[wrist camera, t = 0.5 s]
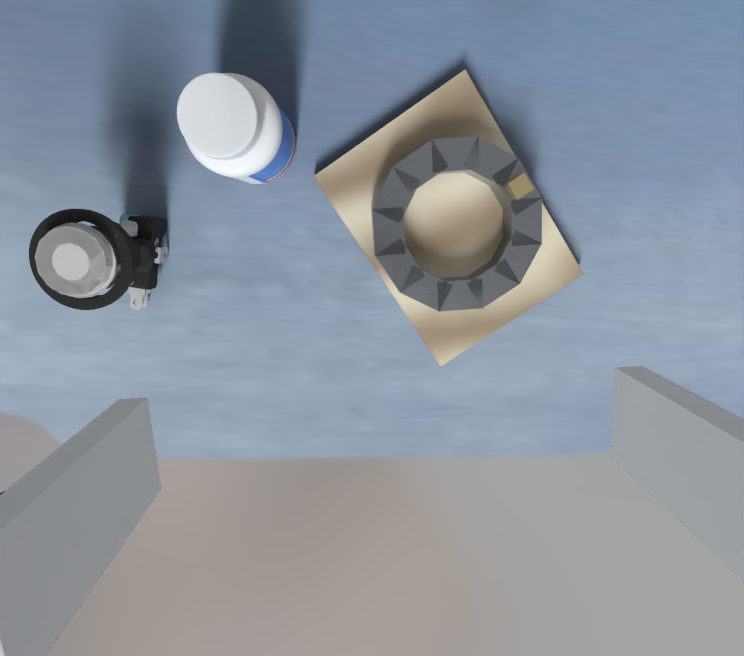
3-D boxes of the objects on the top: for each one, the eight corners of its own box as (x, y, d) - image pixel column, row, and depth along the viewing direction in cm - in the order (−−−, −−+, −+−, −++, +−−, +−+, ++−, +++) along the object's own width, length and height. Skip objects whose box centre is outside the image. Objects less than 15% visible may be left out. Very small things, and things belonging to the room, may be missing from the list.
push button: (180, 311, 37) (118, 344, 27) (105, 300, 37) (15, 329, 27) (188, 217, 36) (127, 217, 26) (110, 205, 36) (18, 200, 26)
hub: (340, 203, 35) (339, 202, 32) (478, 107, 34) (489, 98, 31) (428, 335, 37) (433, 344, 34) (560, 248, 36) (577, 250, 33)
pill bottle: (292, 98, 35) (269, 52, 25) (300, 182, 36) (280, 168, 26) (210, 103, 34) (155, 59, 25) (220, 187, 36) (171, 175, 26)
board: (314, 177, 36) (313, 176, 35) (461, 73, 35) (465, 69, 34) (438, 362, 39) (440, 366, 38) (577, 272, 38) (583, 273, 37)
